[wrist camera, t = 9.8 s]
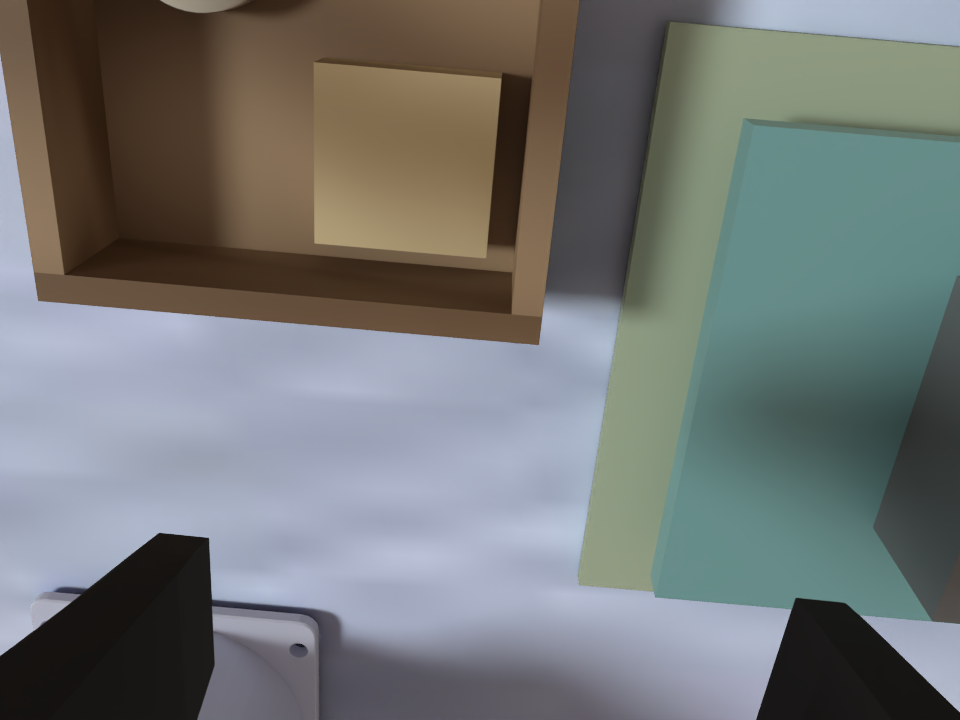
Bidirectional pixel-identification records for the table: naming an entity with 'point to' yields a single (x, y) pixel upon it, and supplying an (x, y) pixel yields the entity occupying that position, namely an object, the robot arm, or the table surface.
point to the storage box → (294, 157)
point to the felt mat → (696, 229)
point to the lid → (826, 382)
